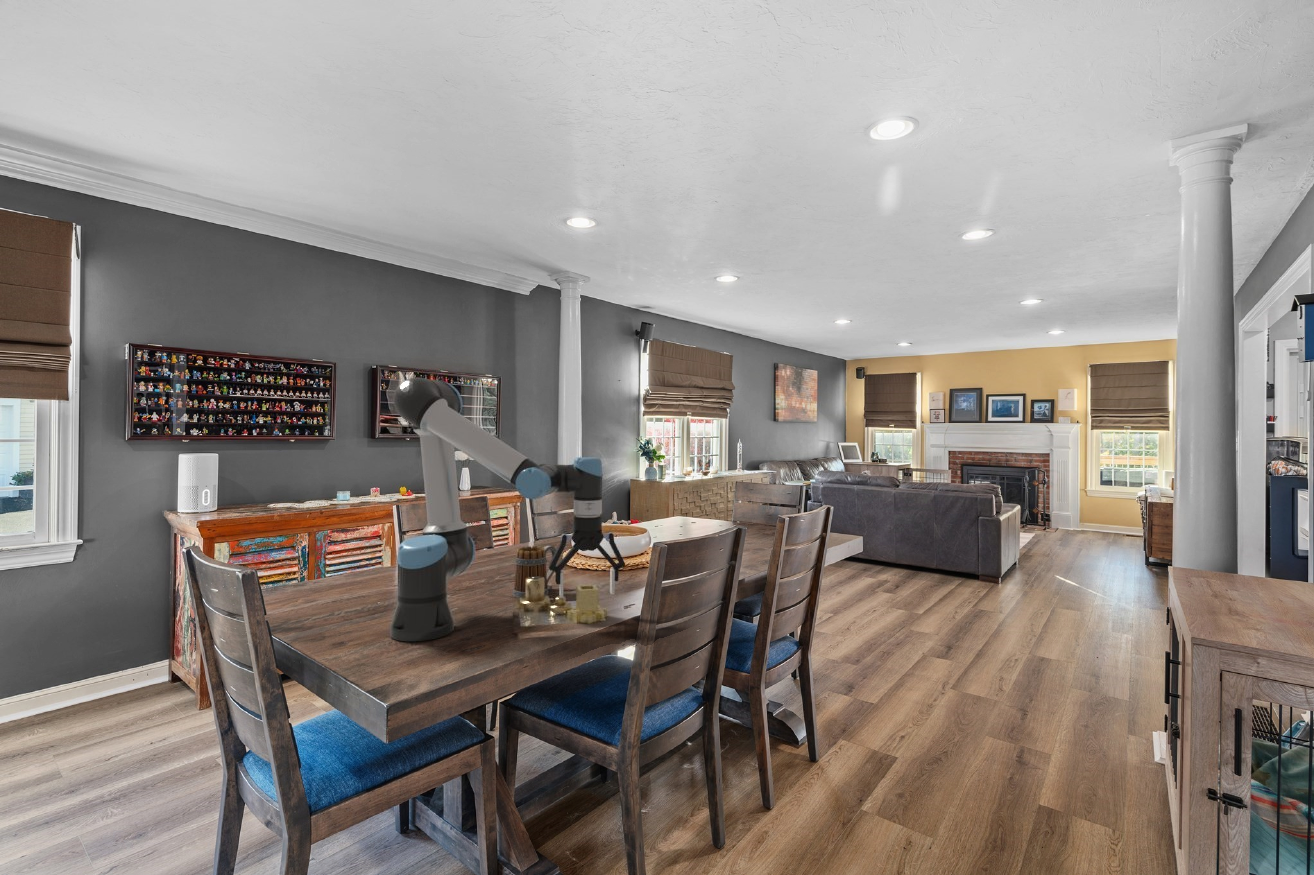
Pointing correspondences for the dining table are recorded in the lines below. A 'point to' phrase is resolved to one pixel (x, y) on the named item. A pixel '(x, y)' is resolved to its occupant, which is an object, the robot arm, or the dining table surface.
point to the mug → (531, 568)
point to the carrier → (542, 605)
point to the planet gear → (587, 606)
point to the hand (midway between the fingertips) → (587, 595)
